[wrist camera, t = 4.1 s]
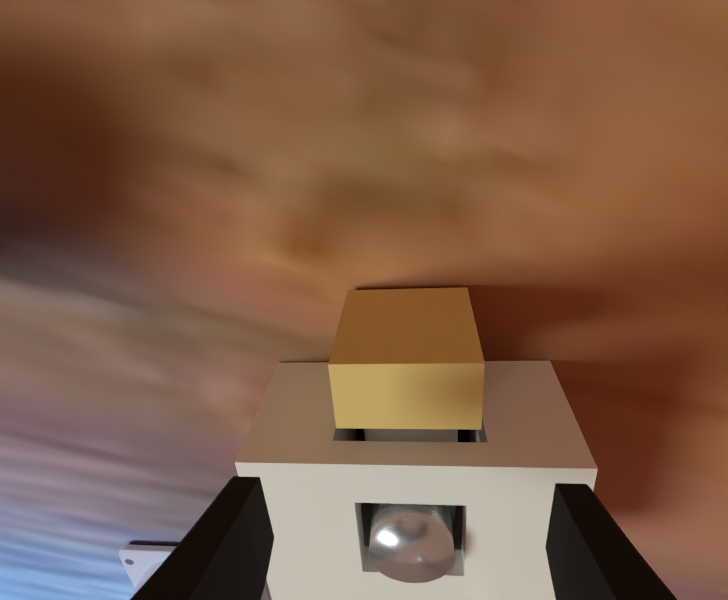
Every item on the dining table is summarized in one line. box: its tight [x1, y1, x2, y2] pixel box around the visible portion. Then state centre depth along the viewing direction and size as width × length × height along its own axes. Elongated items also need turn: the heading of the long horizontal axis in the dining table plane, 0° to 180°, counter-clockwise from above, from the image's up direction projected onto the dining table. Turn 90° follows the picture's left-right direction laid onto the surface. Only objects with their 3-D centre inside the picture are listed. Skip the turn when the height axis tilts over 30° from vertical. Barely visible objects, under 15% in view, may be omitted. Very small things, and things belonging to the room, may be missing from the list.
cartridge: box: [328, 287, 485, 536], centre depth 18 cm, size 10×4×5 cm, turn 4°
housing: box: [235, 361, 598, 600], centre depth 19 cm, size 9×11×6 cm
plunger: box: [369, 503, 455, 583], centre depth 16 cm, size 3×3×2 cm
